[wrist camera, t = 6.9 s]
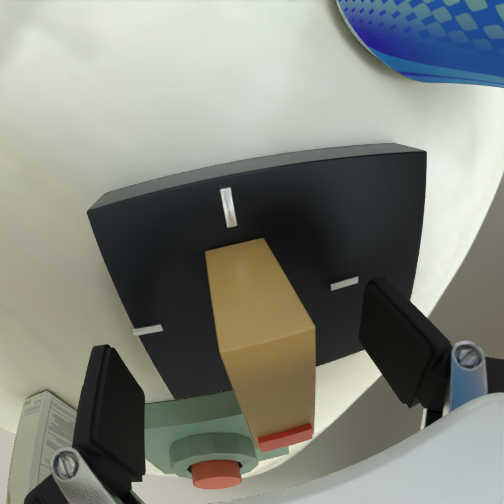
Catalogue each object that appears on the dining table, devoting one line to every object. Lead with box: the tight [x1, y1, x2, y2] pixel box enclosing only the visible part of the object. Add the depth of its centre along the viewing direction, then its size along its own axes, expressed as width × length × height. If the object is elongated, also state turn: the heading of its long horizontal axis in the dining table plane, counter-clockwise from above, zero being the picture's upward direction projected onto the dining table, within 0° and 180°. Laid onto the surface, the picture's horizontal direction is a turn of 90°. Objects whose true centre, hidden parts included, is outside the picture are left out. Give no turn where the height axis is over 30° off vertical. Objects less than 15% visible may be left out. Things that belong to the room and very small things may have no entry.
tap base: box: [87, 143, 427, 399], centre depth 13 cm, size 14×11×3 cm
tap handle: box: [205, 238, 316, 452], centre depth 9 cm, size 6×2×5 cm, turn 9°
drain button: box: [191, 460, 242, 489], centre depth 16 cm, size 4×4×2 cm
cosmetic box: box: [6, 391, 77, 504], centre depth 11 cm, size 6×4×12 cm
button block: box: [145, 390, 289, 479], centre depth 18 cm, size 12×10×4 cm
